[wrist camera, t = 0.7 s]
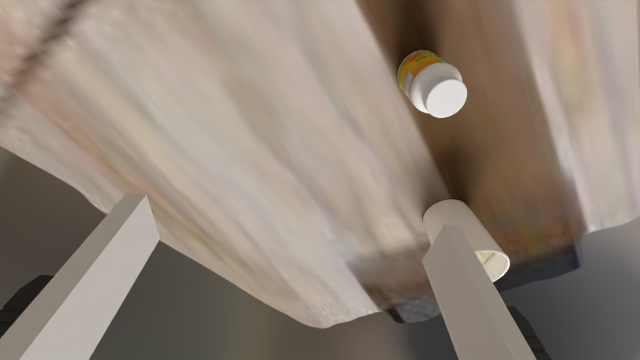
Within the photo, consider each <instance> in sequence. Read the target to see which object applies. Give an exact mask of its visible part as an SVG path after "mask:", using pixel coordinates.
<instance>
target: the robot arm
mask: <svg viewBox="0 0 640 360" xmlns="http://www.w3.org/2000/svg"><path fill="white" fill-rule="evenodd" d="M159 239H160V237H159V234H158V231H157V228H156V224H155V221H154V218H153V215H152V212H151V208H150V205H149V202H148V199H147V196H146V195H143V194H133V193H126V194H125V195H124V197H123V198H122V199H121V200H120V201H119V202H118V203H117V205H116V206H115V207H114V208H113V209H112V210H111V212H110V213H109V214H108V215H107V216H106V217H105V218H104V220H103V221H102V222H101V223H100V224H99V225H98V227H97V228H96V229H95V230H94V231H93V232H92V233H91V235H90V236H89V237H88V238H87V239H86V240H85V242H84V243H83V244H82V245H81V246H80V247H79V248H78V250H77V251H76V252H75V253H74V254H73V256H72V257H71V258H70V259H69V260H68V261H67V262H66V264H65V265H64V266H63V267H62V268H61V269H60V271H59V272H58V273H57V274H56V275H55V276H49V275H40V276H38V277H37V278H35V279H34V280H32V281H31V282H29V283H28V284H26V285H25V286H24V287H22V288H21V289H19V290H18V291H17V293H16V294H15V295H14V296H13V297H12V298H11V299H10V300H9V301H8V302H7V303H6V304H5V305H4V306H3V309H2V310H0V360H89V358H90V356H91V354H92V353H93V351H94V349H95V348H96V346H97V344H98V343H99V341H100V339H101V338H102V336H103V334H104V333H105V331H106V329H107V327H108V326H109V324H110V322H111V321H112V319H113V317H114V316H115V314H116V312H117V311H118V309H119V307H120V305H121V304H122V302H123V300H124V299H125V297H126V295H127V294H128V292H129V290H130V288H131V286H132V285H133V283H134V282H135V280H136V278H137V277H138V275H139V273H140V272H141V270H142V268H143V266H144V265H145V263H146V261H147V260H148V258H149V256H150V254H151V253H152V251H153V249H154V248H155V246H156V244H157V243H158V241H159ZM422 262H423V265H424V267H425V270H426V273H427V275H428V278H429V281H430V283H431V286H432V289H433V291H434V294H435V297H436V299H437V302H438V305H439V307H440V310H441V313H442V315H443V318H444V321H445V323H446V326H447V329H448V332H449V334H450V337H451V340H452V342H453V345H454V348H455V350H456V353H457V355H458V358H459V360H552V359H551V358H550V356H549V355H548V353H546V352H545V348H544V346H543V345H542V343H541V342H540V340H538V339H537V335H536V334H535V332H534V330H533V329H532V327H531V325H530V324H529V322H528V321H527V320H526V318H525V317H524V316H523V315H522V314H521V313H520V312H519V311H518V310H517V309H516V308H515V307H509V306H505V304H504V302H503V300H502V298H501V297H500V295H499V293H498V292H497V290H496V288H495V286H494V285H493V283H492V281H491V279H490V278H489V276H488V274H487V272H486V271H485V269H484V267H483V265H482V264H481V262H480V260H479V259H478V257H477V255H476V253H475V252H474V250H473V248H472V246H471V245H470V243H469V241H468V239H467V238H466V236H465V234H464V232H463V231H462V229H461V227H460V226H454V225H444V226H443V228H442V229H441V231H440V232H439V234H438V236H437V237H436V239H435V241H434V242H433V244H432V245H431V247H430V249H429V250H428V252H427V254H426V255H425V257H424V258H423V260H422Z"/></svg>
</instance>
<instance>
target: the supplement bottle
mask: <svg viewBox="0 0 640 360" xmlns="http://www.w3.org/2000/svg"><path fill="white" fill-rule="evenodd" d="M397 79H398V83H399V85H400V87H401V89H402V90H403V91H404V93H405V94H406V95H407V96H408V98H409V99H410V100H411V102H412V103H413V104H414V106H415V107H416V108H417V109H419V110H420V111H422V112H425V113H430V114H431V115H433V116H435V117H438V118H444V117H448V116H451V115H453V114H454V113H456V112H457V111H458V110H459V109H460V108H461V107H462V106H463V104H464V103H465V100H466V97H467V89H466V87H465V85H464V84H463V83H462V77H461V74H460V73H459V71H458V70H457V69H456V68H455V67H454V66H452V65H451V64H449V63H448V62H446V61H445V60H443V59H442V58H440V57H439V56H437V55H436V54H434V53H432V52H430V51H427V50H419V51H415V52H413V53H411V54H410V55H408V56H407V57H406V58H405V59H404V60H403V61H402V63H401V65H400V67H399V69H398V74H397Z"/></svg>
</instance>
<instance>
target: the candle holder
mask: <svg viewBox="0 0 640 360" xmlns="http://www.w3.org/2000/svg"><path fill="white" fill-rule="evenodd" d="M423 224H424V227H425V230H426V233H427V236H428V239H429V242H430V245H432V244H433V242H434V241H435V239H436V237H437V236H438V234H439V232H440V231H441V229H442V228H443V226H444V225H454V226H460V227H461V229H462V231H463V232H464V234H465V236H466V238H467V239H468V241H469V243H470V245H471V246H472V248H473V250H474V252H475V253H476V255H477V257H478V259H479V260H480V262H481V264H482V265H483V267H484V269H485V271H486V272H487V274H488V276H489V278H490V279H491V281H492V282H494V281H496V280H497V279H499V278H500V277H502V276H503V275H504V274H505V273H506V271H507V270H508V268H509V265H510V261H509V258H508V256H507V255H506V254H505V253H504V252H503V251H502V250H501V248H500V247H499V246H498V244H497V243H496V242H495V240H494V239H493V238H492V237H491V235H490V234H489V233H488V231H487V230H486V229H485V228H484V226H483V225H482V224H481V222H480V221H479V220H478V218H477V217H476V216H475V215H474V213H473V212H472V211H471V210H470V208H469V207H468V206H467V205H466V204H465V203H464V202H462V201H460V200H455V199H448V200H443V201H440V202H437V203H435V204H434V205H432V206H431V207H429V208H428V209H427V211H426V212H425V214H424V216H423Z"/></svg>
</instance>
